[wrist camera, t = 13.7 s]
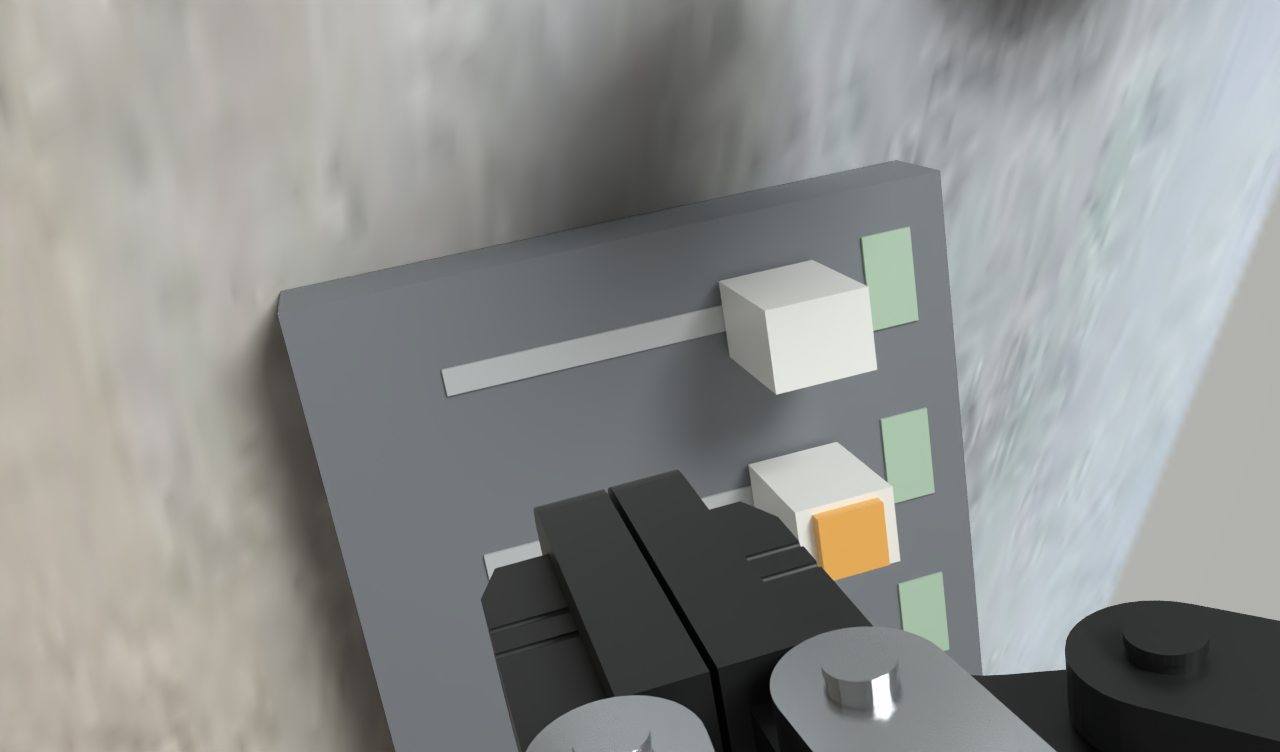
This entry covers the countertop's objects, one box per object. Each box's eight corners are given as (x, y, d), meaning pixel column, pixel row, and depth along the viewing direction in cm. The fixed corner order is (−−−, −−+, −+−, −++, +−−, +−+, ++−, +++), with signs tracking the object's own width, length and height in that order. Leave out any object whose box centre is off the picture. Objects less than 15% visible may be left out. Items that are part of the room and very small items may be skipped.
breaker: (718, 281, 36) (764, 310, 32) (812, 259, 36) (868, 286, 33) (729, 356, 37) (776, 394, 33) (821, 335, 37) (877, 369, 33)
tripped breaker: (748, 464, 38) (800, 518, 34) (836, 441, 38) (898, 491, 34) (758, 533, 39) (810, 593, 34) (845, 509, 39) (906, 566, 35)
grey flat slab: (280, 291, 36) (277, 314, 33) (896, 160, 40) (941, 171, 37) (413, 791, 42) (421, 848, 39) (941, 635, 45) (983, 677, 42)
